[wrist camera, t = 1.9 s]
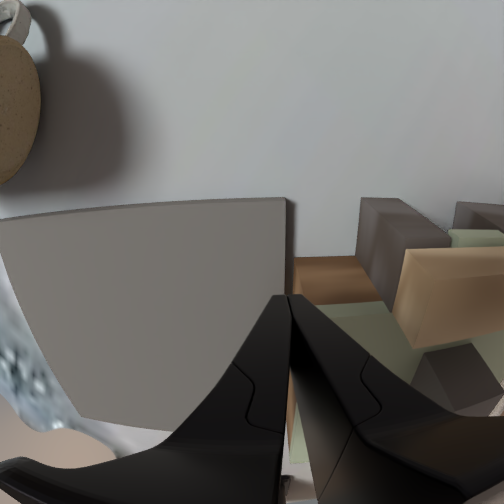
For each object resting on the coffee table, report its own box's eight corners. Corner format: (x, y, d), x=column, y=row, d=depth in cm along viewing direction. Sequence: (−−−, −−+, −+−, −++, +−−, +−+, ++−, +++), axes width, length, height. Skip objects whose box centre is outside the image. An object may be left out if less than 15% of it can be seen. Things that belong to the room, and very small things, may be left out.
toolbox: (485, 370, 20) (508, 407, 15) (285, 407, 20) (290, 463, 16) (546, 209, 13) (591, 237, 9) (295, 197, 14) (315, 239, 9)
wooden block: (525, 293, 10) (548, 316, 8) (391, 312, 10) (412, 349, 8) (541, 245, 9) (568, 265, 7) (405, 249, 9) (435, 280, 7)
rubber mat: (276, 427, 21) (277, 433, 21) (83, 411, 22) (81, 416, 21) (284, 197, 14) (285, 201, 13) (-3, 219, 14) (-9, 223, 13)
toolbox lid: (467, 416, 16) (487, 458, 12) (289, 453, 16) (293, 510, 13) (555, 231, 10) (607, 269, 6) (311, 229, 10) (346, 307, 6)
